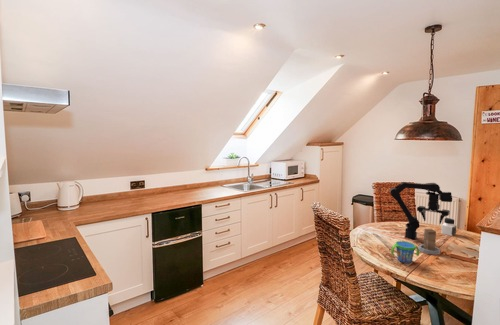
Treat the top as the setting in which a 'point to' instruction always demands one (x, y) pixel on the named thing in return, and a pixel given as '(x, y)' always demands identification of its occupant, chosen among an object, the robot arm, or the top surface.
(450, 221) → the medicine bottle
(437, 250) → the gray bowl
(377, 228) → the top surface
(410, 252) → the snack cup
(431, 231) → the walnut block
